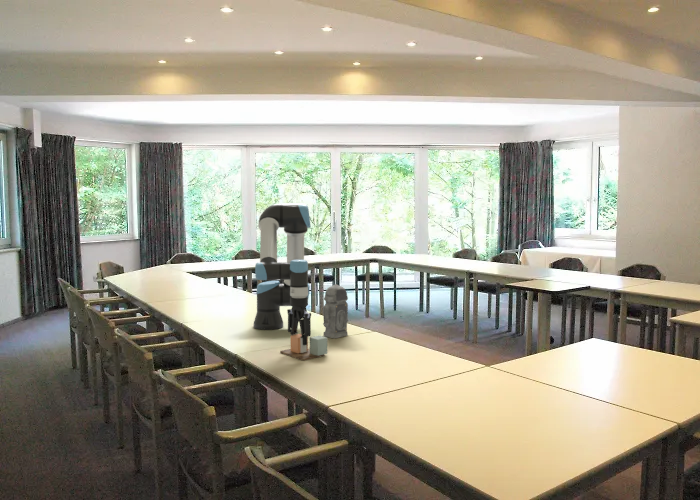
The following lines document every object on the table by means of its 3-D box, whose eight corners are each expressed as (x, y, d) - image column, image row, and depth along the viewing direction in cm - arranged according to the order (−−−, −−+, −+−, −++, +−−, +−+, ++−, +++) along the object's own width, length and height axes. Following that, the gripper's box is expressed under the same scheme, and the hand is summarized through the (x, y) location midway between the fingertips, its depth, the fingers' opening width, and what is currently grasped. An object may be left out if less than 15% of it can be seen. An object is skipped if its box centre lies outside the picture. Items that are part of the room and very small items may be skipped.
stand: (280, 352, 237) (280, 350, 237) (300, 348, 244) (300, 346, 244) (303, 360, 225) (303, 358, 225) (324, 355, 232) (324, 353, 232)
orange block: (290, 350, 236) (290, 335, 235) (300, 348, 239) (300, 333, 239) (298, 353, 232) (298, 337, 232) (307, 351, 236) (307, 335, 235)
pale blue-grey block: (309, 353, 233) (309, 337, 232) (319, 351, 236) (319, 335, 236) (317, 355, 229) (317, 339, 229) (327, 353, 233) (327, 337, 232)
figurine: (352, 334, 270) (352, 283, 268) (331, 339, 260) (331, 286, 258) (338, 331, 277) (338, 281, 275) (317, 336, 266) (317, 284, 264)
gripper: (278, 294, 238) (279, 348, 240) (305, 300, 225) (305, 356, 227) (293, 293, 243) (293, 345, 245) (319, 298, 230) (319, 353, 232)
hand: (299, 350), depth 236 cm, fingers closed on orange block, 5 cm apart
